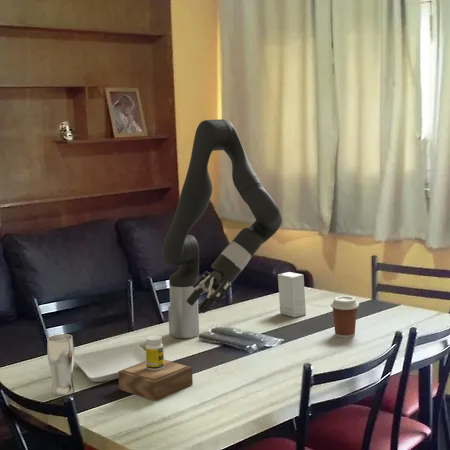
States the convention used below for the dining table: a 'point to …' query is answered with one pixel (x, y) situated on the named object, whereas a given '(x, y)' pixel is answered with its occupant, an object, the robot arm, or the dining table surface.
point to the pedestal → (155, 380)
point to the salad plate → (109, 361)
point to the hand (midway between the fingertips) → (194, 307)
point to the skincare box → (291, 294)
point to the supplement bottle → (154, 353)
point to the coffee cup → (344, 315)
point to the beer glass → (61, 363)
